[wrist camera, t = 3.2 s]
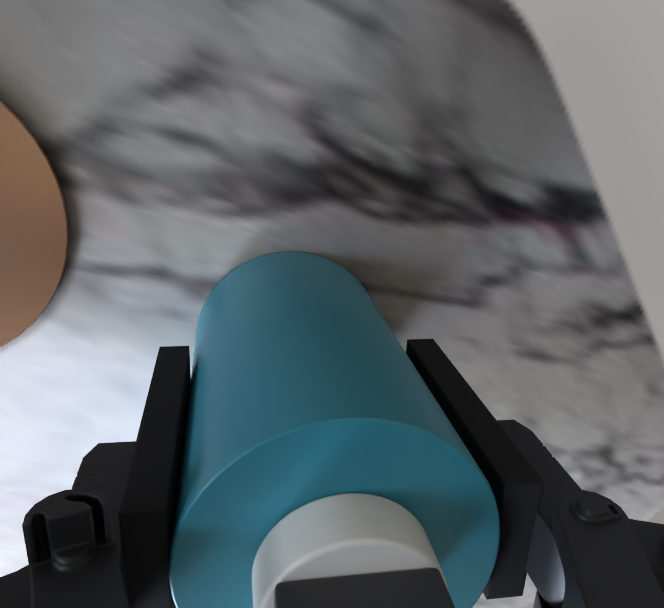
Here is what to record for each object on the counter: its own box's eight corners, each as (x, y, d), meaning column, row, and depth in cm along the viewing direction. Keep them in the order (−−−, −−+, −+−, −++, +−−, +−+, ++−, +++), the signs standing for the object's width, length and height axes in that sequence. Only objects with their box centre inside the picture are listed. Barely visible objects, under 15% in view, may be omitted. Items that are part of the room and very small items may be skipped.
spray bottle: (192, 251, 18) (106, 686, 5) (383, 250, 19) (706, 615, 6) (200, 441, 21) (155, 1065, 8) (370, 432, 22) (585, 970, 9)
